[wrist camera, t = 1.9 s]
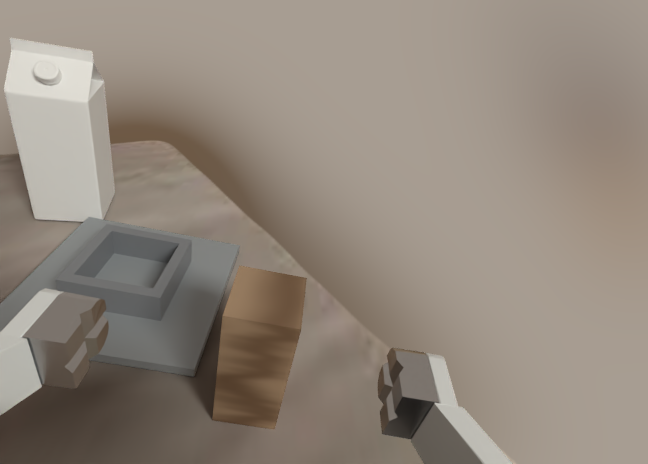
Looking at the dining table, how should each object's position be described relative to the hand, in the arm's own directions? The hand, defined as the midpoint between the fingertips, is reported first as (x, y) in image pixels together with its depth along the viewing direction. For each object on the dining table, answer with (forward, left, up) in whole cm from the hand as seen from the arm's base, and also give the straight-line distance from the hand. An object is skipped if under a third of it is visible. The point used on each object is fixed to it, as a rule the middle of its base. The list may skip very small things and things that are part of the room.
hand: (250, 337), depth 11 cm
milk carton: (-26, +34, -22) cm, 48 cm away
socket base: (-14, +22, -22) cm, 34 cm away
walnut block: (0, +12, -22) cm, 25 cm away
